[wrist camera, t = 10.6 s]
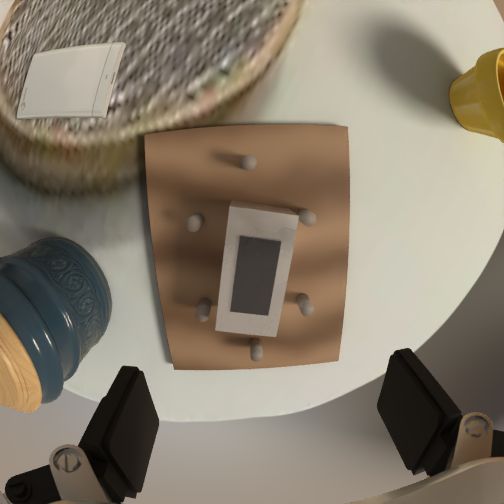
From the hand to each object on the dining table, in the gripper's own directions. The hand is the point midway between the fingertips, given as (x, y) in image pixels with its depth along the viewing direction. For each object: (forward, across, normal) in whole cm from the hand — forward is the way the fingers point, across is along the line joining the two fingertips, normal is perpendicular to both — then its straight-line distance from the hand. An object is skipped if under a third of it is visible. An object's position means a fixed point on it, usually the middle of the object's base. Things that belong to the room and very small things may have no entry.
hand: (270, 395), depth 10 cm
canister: (+18, +21, +3) cm, 28 cm away
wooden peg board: (+18, 0, 0) cm, 18 cm away
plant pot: (+18, -26, -17) cm, 36 cm away
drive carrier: (+17, 0, 0) cm, 17 cm away
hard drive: (+19, +19, -20) cm, 33 cm away
